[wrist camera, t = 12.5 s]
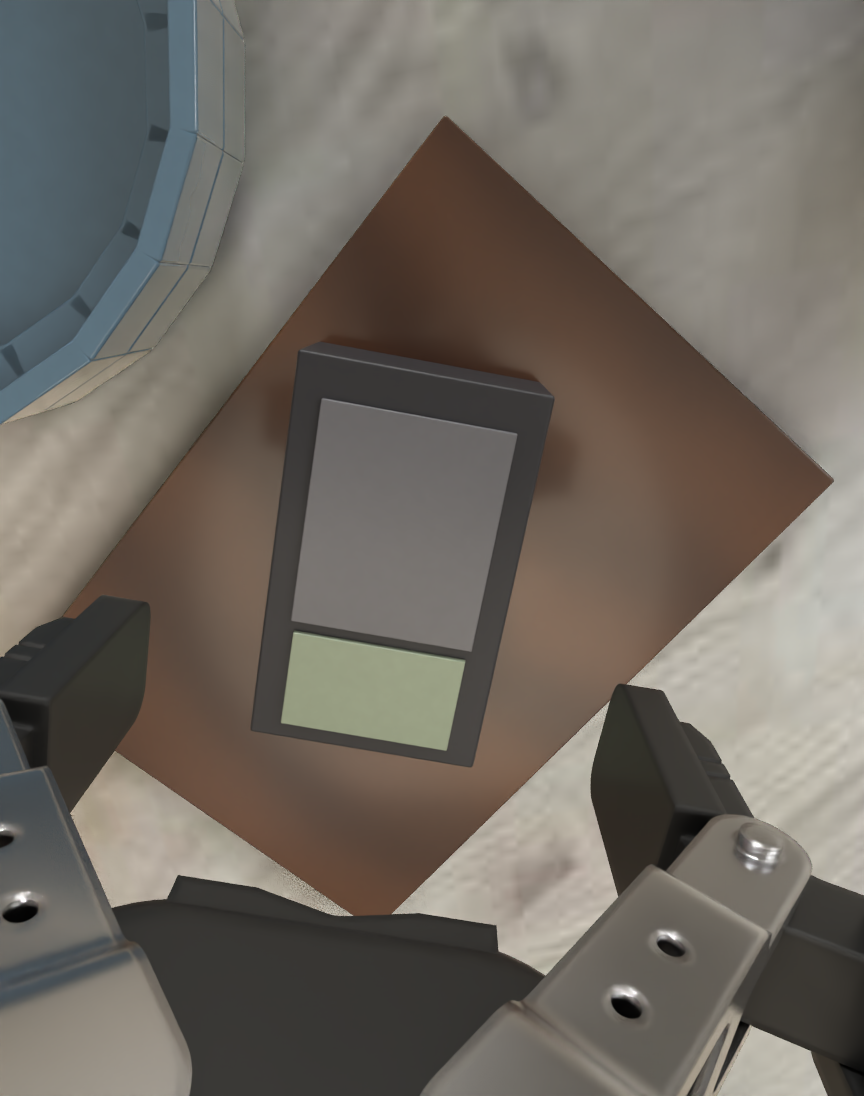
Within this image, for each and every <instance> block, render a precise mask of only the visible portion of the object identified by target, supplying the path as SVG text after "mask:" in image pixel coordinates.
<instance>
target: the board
mask: <svg viewBox="0 0 864 1096" xmlns="http://www.w3.org/2000/svg"><path fill="white" fill-rule="evenodd" d="M317 342H325V343H330V344H336V345H341V346H347V347H352V348H357V349H363V350H368V351H374V352H379V353H385V354H390V355H395V356H401V357H406V358H412V359H417V360H422V361H428V362H433V363H439V364H444V365H449V366H455V367H460V368H466V369H471V370H477V371H482V372H487V373H493V374H498V375H504V376H509V377H514V378H520V379H525V380H531V381H536V382H540V383H541V384H542V385H543V386H544V387H545V388H546V389H547V390H548V391H549V392H550V393H551V394H552V395H553V396H554V398H555V401H554V405H553V410H552V414H551V419H550V423H549V428H548V432H547V437H546V441H545V446H544V450H543V455H542V459H541V464H540V468H539V473H538V477H537V482H536V486H535V490H534V495H533V499H532V504H531V508H530V513H529V517H528V522H527V526H526V531H525V535H524V540H523V544H522V549H521V553H520V558H519V562H518V567H517V571H516V576H515V580H514V585H513V589H512V594H511V598H510V603H509V607H508V612H507V616H506V621H505V625H504V630H503V634H502V639H501V643H500V648H499V652H498V657H497V661H496V666H495V670H494V675H493V679H492V684H491V688H490V693H489V697H488V702H487V706H486V711H485V715H484V720H483V724H482V729H481V733H480V738H479V742H478V747H477V751H476V756H475V760H474V764H473V766H472V767H471V768H469V767H463V766H457V765H451V764H445V763H439V762H433V761H427V760H421V759H415V758H409V757H404V756H398V755H392V754H386V753H380V752H374V751H368V750H362V749H356V748H350V747H344V746H338V745H332V744H326V743H320V742H314V741H308V740H302V739H296V738H290V737H284V736H278V735H272V734H266V733H260V732H254V731H251V728H250V726H251V718H252V710H253V702H254V694H255V687H256V679H257V671H258V663H259V655H260V647H261V639H262V632H263V624H264V616H265V608H266V600H267V592H268V584H269V576H270V569H271V561H272V553H273V545H274V537H275V529H276V521H277V513H278V506H279V498H280V490H281V482H282V474H283V466H284V458H285V450H286V443H287V435H288V427H289V419H290V411H291V403H292V395H293V387H294V380H295V372H296V364H297V356H298V351H299V350H300V349H302V348H305V347H307V346H310V345H312V344H315V343H317ZM833 482H834V479H833V478H832V477H831V476H830V475H829V474H828V473H827V472H826V471H824V470H823V469H822V468H821V467H820V466H819V465H818V464H817V463H816V462H815V461H814V460H813V459H812V458H811V457H810V456H808V455H807V454H806V453H805V452H804V451H803V450H802V449H801V448H800V447H799V446H798V445H797V444H796V443H795V442H794V441H792V440H791V439H790V438H789V437H788V436H787V435H786V434H785V433H784V432H783V431H782V430H781V429H780V428H779V427H778V426H777V425H775V424H774V423H773V422H772V421H771V420H770V419H769V418H768V417H767V416H766V415H765V414H764V413H763V412H762V411H761V410H759V409H758V408H757V407H756V406H755V405H754V404H753V403H752V402H751V401H750V400H749V399H748V398H747V397H746V396H745V395H744V394H742V393H741V392H740V391H739V390H738V389H737V388H736V387H735V386H734V385H733V384H732V383H731V382H730V381H729V380H728V379H726V378H725V377H724V376H723V375H722V374H721V373H720V372H719V371H718V370H717V369H716V368H715V367H714V366H713V365H712V364H711V363H709V362H708V361H707V360H706V359H705V358H704V357H703V356H702V355H701V354H700V353H699V352H698V351H697V350H696V349H695V348H693V347H692V346H691V345H690V344H689V343H688V342H687V341H686V340H685V339H684V338H683V337H682V336H681V335H680V334H679V333H677V332H676V331H675V330H674V329H673V328H672V327H671V326H670V325H669V324H668V323H667V322H666V321H665V320H664V319H663V318H662V317H660V316H659V315H658V314H657V313H656V312H655V311H654V310H653V309H652V308H651V307H650V306H649V305H648V304H647V303H646V302H644V301H643V300H642V299H641V298H640V297H639V296H638V295H637V294H636V293H635V292H634V291H633V290H632V289H631V288H630V287H629V286H627V285H626V284H625V283H624V282H623V281H622V280H621V279H620V278H619V277H618V276H617V275H616V274H615V273H614V272H613V271H611V270H610V269H609V268H608V267H607V266H606V265H605V264H604V263H603V262H602V261H601V260H600V259H599V258H598V257H597V256H596V255H594V254H593V253H592V252H591V251H590V250H589V249H588V248H587V247H586V246H585V245H584V244H583V243H582V242H581V241H580V240H578V239H577V238H576V237H575V236H574V235H573V234H572V233H571V232H570V231H569V230H568V229H567V228H566V227H565V226H564V225H562V224H561V223H560V222H559V221H558V220H557V219H556V218H555V217H554V216H553V215H552V214H551V213H550V212H549V211H548V210H547V209H545V208H544V207H543V206H542V205H541V204H540V203H539V202H538V201H537V200H536V199H535V198H534V197H533V196H532V195H531V194H529V193H528V192H527V191H526V190H525V189H524V188H523V187H522V186H521V185H520V184H519V183H518V182H517V181H516V180H515V179H514V178H512V177H511V176H510V175H509V174H508V173H507V172H506V171H505V170H504V169H503V168H502V167H501V166H500V165H499V164H498V163H496V162H495V161H494V160H493V159H492V158H491V157H490V156H489V155H488V154H487V153H486V152H485V151H484V150H483V149H482V148H481V147H479V146H478V145H477V144H476V143H475V142H474V141H473V140H472V139H471V138H470V137H469V136H468V135H467V134H466V133H465V132H463V131H462V130H461V129H460V128H459V127H458V126H457V125H456V124H455V123H454V122H453V121H452V120H451V119H450V118H449V117H447V116H443V118H442V119H441V120H440V122H439V123H438V124H437V125H436V127H435V128H434V129H433V131H432V132H431V133H430V135H429V136H428V137H427V139H426V140H425V141H424V142H423V144H422V145H421V146H420V148H419V149H418V150H417V152H416V153H415V154H414V156H413V157H412V158H411V160H410V161H409V162H408V163H407V165H406V166H405V167H404V169H403V170H402V171H401V173H400V174H399V175H398V177H397V178H396V179H395V181H394V182H393V183H392V184H391V186H390V187H389V188H388V190H387V191H386V192H385V194H384V195H383V196H382V198H381V199H380V200H379V202H378V203H377V204H376V205H375V207H374V208H373V209H372V211H371V212H370V213H369V215H368V216H367V217H366V219H365V220H364V221H363V223H362V224H361V225H360V226H359V228H358V229H357V230H356V232H355V233H354V234H353V236H352V237H351V238H350V240H349V241H348V242H347V244H346V245H345V246H344V247H343V249H342V250H341V251H340V253H339V254H338V255H337V257H336V258H335V259H334V261H333V262H332V263H331V265H330V266H329V267H328V268H327V270H326V271H325V272H324V274H323V275H322V276H321V278H320V279H319V280H318V282H317V283H316V284H315V285H314V287H313V288H312V289H311V291H310V292H309V293H308V295H307V296H306V297H305V299H304V300H303V301H302V303H301V304H300V305H299V306H298V308H297V309H296V310H295V312H294V313H293V314H292V316H291V317H290V318H289V320H288V321H287V322H286V324H285V325H284V326H283V327H282V329H281V330H280V331H279V333H278V334H277V335H276V337H275V338H274V339H273V341H272V342H271V343H270V345H269V346H268V347H267V348H266V350H265V351H264V352H263V354H262V355H261V356H260V358H259V359H258V360H257V362H256V363H255V364H254V366H253V367H252V368H251V369H250V371H249V372H248V373H247V375H246V376H245V377H244V379H243V380H242V381H241V383H240V384H239V385H238V387H237V388H236V389H235V390H234V392H233V393H232V394H231V396H230V397H229V398H228V400H227V401H226V402H225V404H224V405H223V406H222V408H221V409H220V410H219V411H218V413H217V414H216V415H215V417H214V418H213V419H212V421H211V422H210V423H209V425H208V426H207V427H206V428H205V430H204V431H203V432H202V434H201V435H200V436H199V438H198V439H197V440H196V442H195V443H194V444H193V446H192V447H191V448H190V449H189V451H188V452H187V453H186V455H185V456H184V457H183V459H182V460H181V461H180V463H179V464H178V465H177V467H176V468H175V469H174V470H173V472H172V473H171V474H170V476H169V477H168V478H167V480H166V481H165V482H164V484H163V485H162V486H161V488H160V489H159V490H158V491H157V493H156V494H155V495H154V497H153V498H152V499H151V501H150V502H149V503H148V505H147V506H146V507H145V509H144V510H143V511H142V512H141V514H140V515H139V516H138V518H137V519H136V520H135V522H134V523H133V524H132V526H131V527H130V528H129V530H128V531H127V532H126V533H125V535H124V536H123V537H122V539H121V540H120V541H119V543H118V544H117V545H116V547H115V548H114V549H113V551H112V552H111V553H110V554H109V556H108V557H107V558H106V560H105V561H104V562H103V564H102V565H101V566H100V568H99V569H98V570H97V571H96V573H95V574H94V575H93V577H92V578H91V579H90V581H89V582H88V583H87V585H86V586H85V587H84V589H83V590H82V591H81V592H80V594H79V595H78V596H77V598H76V599H75V600H74V602H73V603H72V604H71V606H70V607H69V608H68V610H67V611H66V612H65V613H64V615H63V616H62V617H68V618H74V619H75V618H76V617H77V616H79V615H80V614H81V613H82V612H83V611H84V610H85V609H86V608H87V607H88V606H90V605H91V604H92V603H93V602H94V601H95V600H96V599H97V598H98V597H100V596H101V595H108V596H114V597H120V598H126V599H132V600H138V601H144V602H148V603H149V606H150V611H151V621H150V634H149V647H148V660H147V673H146V685H145V693H144V698H143V702H142V705H141V709H140V711H139V714H138V716H137V718H136V720H135V722H134V724H133V725H132V727H131V728H130V729H129V731H128V732H127V734H126V735H125V737H124V738H123V739H122V741H121V742H120V744H119V745H118V746H117V748H116V749H115V751H116V752H118V753H119V754H121V755H122V756H123V757H125V758H126V759H128V760H129V761H131V762H132V763H134V764H135V765H136V766H138V767H139V768H141V769H142V770H144V771H145V772H147V773H148V774H149V775H151V776H152V777H154V778H155V779H157V780H158V781H160V782H161V783H162V784H164V785H165V786H167V787H168V788H170V789H171V790H173V791H174V792H175V793H177V794H178V795H180V796H181V797H183V798H184V799H186V800H187V801H188V802H190V803H191V804H193V805H194V806H196V807H197V808H199V809H200V810H202V811H203V812H204V813H206V814H207V815H209V816H210V817H212V818H213V819H215V820H216V821H217V822H219V823H220V824H222V825H223V826H225V827H226V828H228V829H229V830H230V831H232V832H233V833H235V834H236V835H238V836H239V837H241V838H242V839H243V840H245V841H246V842H248V843H249V844H251V845H252V846H254V847H255V848H256V849H258V850H259V851H261V852H262V853H264V854H265V855H267V856H268V857H269V858H271V859H272V860H274V861H275V862H277V863H278V864H280V865H281V866H282V867H284V868H285V869H287V870H288V871H290V872H291V873H293V874H294V875H296V876H297V877H298V878H300V879H301V880H303V881H304V882H306V883H307V884H309V885H310V886H311V887H313V888H314V889H316V890H317V891H319V892H320V893H322V894H323V895H324V896H326V897H327V898H329V899H330V900H332V901H333V902H335V903H336V904H337V905H339V906H340V907H342V908H343V909H345V910H346V911H348V912H349V913H350V914H352V915H353V916H366V915H391V914H392V913H393V912H394V911H395V910H396V909H397V908H398V907H399V906H400V905H401V904H402V903H403V902H404V901H405V900H406V899H407V898H408V897H409V896H410V895H411V894H412V893H413V892H414V891H415V890H416V889H417V888H418V887H419V886H420V885H421V884H422V883H423V882H424V881H425V880H426V879H428V878H429V877H430V876H431V875H432V874H433V873H434V872H435V871H436V870H437V869H438V868H439V867H440V866H441V865H442V864H443V863H444V862H445V861H446V860H447V859H448V858H449V857H450V856H451V855H452V854H453V853H454V852H455V851H456V850H457V849H458V848H459V847H460V846H461V845H462V844H463V843H464V842H465V841H466V840H467V839H468V838H469V837H470V836H472V835H473V834H474V833H475V832H476V831H477V830H478V829H479V828H480V827H481V826H482V825H483V824H484V823H485V822H486V821H487V820H488V819H489V818H490V817H491V816H492V815H493V814H494V813H495V812H496V811H497V810H498V809H499V808H500V807H501V806H502V805H503V804H504V803H505V802H506V801H507V800H508V799H509V798H510V797H511V796H512V795H513V794H514V793H516V792H517V791H518V790H519V789H520V788H521V787H522V786H523V785H524V784H525V783H526V782H527V781H528V780H529V779H530V778H531V777H532V776H533V775H534V774H535V773H536V772H537V771H538V770H539V769H540V768H541V767H542V766H543V765H544V764H545V763H546V762H547V761H548V760H549V759H550V758H551V757H552V756H553V755H554V754H555V753H556V752H557V751H558V750H560V749H561V748H562V747H563V746H564V745H565V744H566V743H567V742H568V741H569V740H570V739H571V738H572V737H573V736H574V735H575V734H576V733H577V732H578V731H579V730H580V729H581V728H582V727H583V726H584V725H585V724H586V723H587V722H588V721H589V720H590V719H591V718H592V717H593V716H594V715H595V714H596V713H597V712H598V711H599V710H600V709H601V708H603V707H604V706H605V705H606V704H607V703H608V702H609V701H610V700H611V696H612V694H613V691H614V689H615V687H616V686H617V685H618V684H627V683H628V682H629V681H630V680H631V679H632V678H633V677H634V676H635V675H636V674H637V673H638V672H639V671H640V670H641V669H642V668H643V667H644V666H645V665H647V664H648V663H649V662H650V661H651V660H652V659H653V658H654V657H655V656H656V655H657V654H658V653H659V652H660V651H661V650H662V649H663V648H664V647H665V646H666V645H667V644H668V643H669V642H670V641H671V640H672V639H673V638H674V637H675V636H676V635H677V634H678V633H679V632H680V631H681V630H682V629H683V628H684V627H685V626H686V625H687V624H688V623H689V622H691V621H692V620H693V619H694V618H695V617H696V616H697V615H698V614H699V613H700V612H701V611H702V610H703V609H704V608H705V607H706V606H707V605H708V604H709V603H710V602H711V601H712V600H713V599H714V598H715V597H716V596H717V595H718V594H719V593H720V592H721V591H722V590H723V589H724V588H725V587H726V586H727V585H728V584H729V583H730V582H731V581H732V580H733V579H735V578H736V577H737V576H738V575H739V574H740V573H741V572H742V571H743V570H744V569H745V568H746V567H747V566H748V565H749V564H750V563H751V562H752V561H753V560H754V559H755V558H756V557H757V556H758V555H759V554H760V553H761V552H762V551H763V550H764V549H765V548H766V547H767V546H768V545H769V544H770V543H771V542H772V541H773V540H774V539H775V538H776V537H778V536H779V535H780V534H781V533H782V532H783V531H784V530H785V529H786V528H787V527H788V526H789V525H790V524H791V523H792V522H793V521H794V520H795V519H796V518H797V517H798V516H799V515H800V514H801V513H802V512H803V511H804V510H805V509H806V508H807V507H808V506H809V505H810V504H811V503H812V502H813V501H814V500H815V499H816V498H817V497H818V496H819V495H820V494H822V493H823V492H824V491H825V490H826V489H827V488H828V487H829V486H830V485H831V484H832V483H833ZM62 617H61V618H62Z"/></svg>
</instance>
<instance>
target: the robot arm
mask: <svg viewBox="0 0 864 1096" xmlns="http://www.w3.org/2000/svg"><path fill="white" fill-rule="evenodd" d="M150 621H151V611H150V606H149V603H148V602H144V601H138V600H132V599H126V598H120V597H114V596H108V595H101V596H100V597H98V598H97V599H96V600H95V601H94V602H93V603H92V604H91V605H90V606H88V607H87V608H86V609H85V610H84V611H83V612H82V613H81V614H80V615H79V616H77V617H76V618H75V619H74V618H68V617H62V618H60V619H57V620H54V621H52V622H49V623H46V624H44V625H41V626H39V627H36V628H35V629H34V630H33V631H31V632H30V633H29V634H28V635H27V636H25V637H24V638H23V639H22V640H21V641H20V642H19V645H15V646H14V647H12V648H11V649H10V650H9V651H8V652H6V653H5V656H4V657H1V658H0V1096H717V1095H718V1093H719V1091H720V1089H721V1087H722V1085H723V1083H724V1081H725V1079H726V1077H727V1075H728V1073H729V1071H730V1069H731V1068H732V1066H733V1064H734V1062H735V1060H736V1058H737V1056H738V1054H739V1052H740V1050H741V1048H742V1046H743V1044H744V1042H745V1041H746V1039H747V1037H748V1035H749V1032H750V1030H751V1027H752V1026H753V1027H756V1028H758V1029H760V1030H763V1031H765V1032H768V1033H770V1034H772V1035H775V1036H777V1037H779V1038H782V1039H784V1040H786V1041H789V1042H791V1043H794V1044H796V1045H798V1046H801V1047H803V1048H805V1049H808V1050H810V1051H811V1053H812V1057H813V1060H814V1063H815V1066H816V1068H817V1070H818V1073H819V1075H820V1078H821V1080H822V1083H823V1085H824V1088H825V1090H826V1093H827V1095H828V1096H864V895H861V894H858V893H855V892H853V891H850V890H847V889H844V888H842V887H839V886H836V885H833V884H831V883H828V882H826V881H823V880H821V879H818V878H816V877H814V876H812V875H811V872H812V863H811V860H810V858H809V856H808V854H807V853H806V851H805V850H804V849H803V848H802V847H801V846H800V845H799V844H798V843H797V842H796V841H795V840H794V839H793V838H791V837H790V836H789V835H787V834H786V833H784V832H783V831H781V830H779V829H778V828H776V827H774V826H772V825H770V824H768V823H766V822H763V821H760V820H758V819H755V818H754V817H753V815H752V813H751V811H750V810H749V808H748V806H747V804H746V803H745V801H744V799H743V797H742V796H741V794H740V792H739V790H738V789H737V787H736V785H735V783H734V782H733V780H730V774H729V773H728V771H727V769H726V767H725V766H724V764H721V761H722V760H721V759H720V757H719V755H718V753H717V752H716V750H715V748H714V746H713V745H712V743H711V741H709V740H708V739H707V738H706V737H705V736H704V735H702V734H701V733H700V732H699V731H698V730H697V729H696V728H694V727H693V726H692V725H691V724H690V723H684V722H679V720H678V718H677V716H676V714H675V713H674V711H673V709H672V707H671V705H670V703H669V701H668V699H667V697H666V695H665V694H664V692H663V691H661V690H656V689H650V688H644V687H638V686H632V685H626V684H618V685H617V686H616V687H615V689H614V691H613V694H612V696H611V700H610V703H609V707H608V711H607V714H606V718H605V722H604V725H603V729H602V733H601V736H600V740H599V744H598V747H597V751H596V754H595V758H594V762H593V767H592V773H591V798H592V803H593V806H594V810H595V814H596V817H597V821H598V824H599V828H600V832H601V835H602V839H603V843H604V846H605V850H606V853H607V857H608V861H609V864H610V868H611V872H612V875H613V879H614V883H615V886H616V890H617V893H618V898H617V899H616V900H615V901H614V902H613V903H612V905H611V906H610V907H609V908H608V909H607V910H606V911H605V912H604V913H603V914H602V915H601V916H600V918H599V919H598V920H597V921H596V922H595V923H594V924H593V925H592V926H591V927H590V928H589V929H588V931H587V932H586V933H585V934H584V935H583V936H582V937H581V938H580V939H579V940H578V941H577V943H576V944H575V945H574V946H573V947H572V948H571V949H570V950H569V951H568V952H567V953H566V954H565V956H564V957H563V958H562V959H561V960H560V961H559V962H558V963H557V964H556V965H555V966H554V967H553V969H552V970H551V971H550V972H549V973H548V974H547V975H546V976H545V975H543V974H542V973H540V972H539V971H537V970H535V969H534V968H532V967H530V966H529V965H527V964H525V963H523V962H521V961H519V960H517V959H515V958H513V957H511V956H509V955H506V954H504V953H501V952H498V941H497V927H496V925H489V924H483V923H477V922H470V921H464V920H458V919H451V918H445V917H439V916H432V915H426V914H420V913H416V914H391V915H366V916H334V915H330V914H327V913H324V912H321V911H319V910H316V909H313V908H311V907H308V906H305V905H302V904H300V903H297V902H294V901H292V900H289V899H286V898H283V897H281V896H278V895H275V894H273V893H270V892H267V891H265V890H262V889H259V888H256V887H249V886H243V885H237V884H230V883H224V882H218V881H211V880H205V879H199V878H193V877H186V876H180V875H178V876H177V878H176V881H175V883H174V885H173V887H172V889H171V892H170V894H169V896H168V898H167V899H163V900H151V901H144V902H136V903H131V904H127V905H122V906H118V907H114V908H111V906H110V904H109V902H108V899H107V897H106V895H105V892H104V890H103V888H102V886H101V883H100V881H99V879H98V876H97V874H96V872H95V870H94V867H93V865H92V863H91V861H90V858H89V856H88V854H87V851H86V849H85V847H84V845H83V842H82V840H81V838H80V835H79V833H78V831H77V829H76V826H75V824H74V822H73V819H72V817H71V815H70V812H71V811H72V810H73V808H74V807H75V805H76V804H77V803H78V801H79V800H80V798H81V797H82V796H83V794H84V793H85V791H86V790H87V789H88V787H89V786H90V784H91V783H92V782H93V780H94V779H95V777H96V776H97V774H98V773H99V772H100V770H101V769H102V767H103V766H104V765H105V763H106V762H107V760H108V759H109V758H110V756H111V755H112V753H113V752H114V751H115V749H116V748H117V746H118V745H119V744H120V742H121V741H122V739H123V738H124V737H125V735H126V734H127V732H128V731H129V729H130V728H131V727H132V725H133V724H134V722H135V720H136V718H137V716H138V714H139V711H140V709H141V705H142V702H143V698H144V693H145V685H146V673H147V660H148V647H149V634H150Z"/></svg>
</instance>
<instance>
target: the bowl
mask: <svg viewBox="0 0 864 1096" xmlns="http://www.w3.org/2000/svg"><path fill="white" fill-rule="evenodd" d="M244 161H245V43H244V36H243V32H242V28H241V25H240V21H239V17H238V14H237V10H236V6H235V3H234V0H0V425H2V424H5V423H8V422H12V421H15V420H18V419H22V418H25V417H28V416H32V415H35V414H38V413H41V412H45V411H48V410H51V409H55V408H58V407H61V406H65V405H68V404H71V403H74V402H76V401H78V400H80V399H81V398H83V397H84V396H86V395H87V394H89V393H90V392H92V391H93V390H94V389H96V388H97V387H99V386H100V385H102V384H103V383H105V382H106V381H108V380H109V379H111V378H112V377H114V376H115V375H116V374H118V373H119V372H121V371H122V370H124V369H125V368H127V367H128V366H130V365H131V364H133V363H134V362H136V361H137V360H138V359H140V358H141V357H143V356H144V355H146V354H147V353H149V352H150V351H151V350H152V348H154V347H156V345H157V344H158V342H159V341H160V340H161V338H162V337H163V335H164V334H165V333H166V331H167V330H168V328H169V327H170V326H171V324H172V323H173V322H174V320H175V319H176V317H177V316H178V315H179V313H180V312H181V310H182V309H183V308H184V306H185V305H186V303H187V302H188V301H189V299H190V298H191V297H192V295H193V294H194V292H195V291H196V290H197V288H198V287H199V285H200V284H201V283H202V281H203V280H204V279H205V277H206V276H207V274H208V273H209V272H210V269H211V268H210V267H211V266H212V265H213V263H214V260H215V257H216V253H217V250H218V247H219V244H220V240H221V237H222V234H223V231H224V228H225V224H226V221H227V218H228V215H229V211H230V208H231V205H232V202H233V198H234V195H235V192H236V189H237V185H238V182H239V179H240V176H241V172H242V169H243V162H244Z"/></svg>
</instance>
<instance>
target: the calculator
mask: <svg viewBox="0 0 864 1096" xmlns="http://www.w3.org/2000/svg"><path fill="white" fill-rule="evenodd" d="M554 401H555V398H554V396H553V395H552V394H551V393H550V392H549V391H548V390H547V389H546V388H545V387H544V386H543V385H542V384H541V383H540V382H536V381H531V380H525V379H520V378H514V377H509V376H504V375H498V374H493V373H487V372H482V371H477V370H471V369H466V368H460V367H455V366H449V365H444V364H439V363H433V362H428V361H422V360H417V359H412V358H406V357H401V356H395V355H390V354H385V353H379V352H374V351H368V350H363V349H357V348H352V347H347V346H341V345H336V344H330V343H325V342H317V343H315V344H312V345H310V346H307V347H305V348H302V349H300V350H299V351H298V356H297V364H296V372H295V380H294V387H293V395H292V403H291V411H290V419H289V427H288V435H287V443H286V450H285V458H284V466H283V474H282V482H281V490H280V498H279V506H278V513H277V521H276V529H275V537H274V545H273V553H272V561H271V569H270V576H269V584H268V592H267V600H266V608H265V616H264V624H263V632H262V639H261V647H260V655H259V663H258V671H257V679H256V687H255V694H254V702H253V710H252V718H251V726H250V728H251V731H254V732H260V733H266V734H272V735H278V736H284V737H290V738H296V739H302V740H308V741H314V742H320V743H326V744H332V745H338V746H344V747H350V748H356V749H362V750H368V751H374V752H380V753H386V754H392V755H398V756H404V757H409V758H415V759H421V760H427V761H433V762H439V763H445V764H451V765H457V766H463V767H469V768H471V767H472V766H473V764H474V760H475V756H476V751H477V747H478V742H479V738H480V733H481V729H482V724H483V720H484V715H485V711H486V706H487V702H488V697H489V693H490V688H491V684H492V679H493V675H494V670H495V666H496V661H497V657H498V652H499V648H500V643H501V639H502V634H503V630H504V625H505V621H506V616H507V612H508V607H509V603H510V598H511V594H512V589H513V585H514V580H515V576H516V571H517V567H518V562H519V558H520V553H521V549H522V544H523V540H524V535H525V531H526V526H527V522H528V517H529V513H530V508H531V504H532V499H533V495H534V490H535V486H536V482H537V477H538V473H539V468H540V464H541V459H542V455H543V450H544V446H545V441H546V437H547V432H548V428H549V423H550V419H551V414H552V410H553V405H554Z"/></svg>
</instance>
